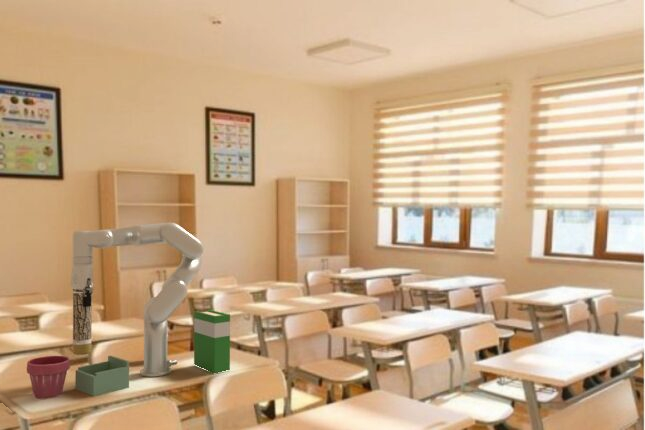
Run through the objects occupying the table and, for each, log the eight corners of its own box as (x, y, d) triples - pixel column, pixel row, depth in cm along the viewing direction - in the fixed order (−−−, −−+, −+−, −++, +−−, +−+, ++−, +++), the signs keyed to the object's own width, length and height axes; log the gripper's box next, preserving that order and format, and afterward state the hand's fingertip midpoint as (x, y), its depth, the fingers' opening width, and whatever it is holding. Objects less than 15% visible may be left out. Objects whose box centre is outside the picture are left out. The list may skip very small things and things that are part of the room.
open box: (110, 380, 215) (110, 355, 215) (129, 387, 206) (129, 361, 206) (75, 388, 204) (75, 362, 204) (93, 396, 195) (93, 368, 195)
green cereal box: (194, 365, 238) (194, 311, 238) (208, 363, 243) (209, 309, 243) (214, 373, 225) (214, 316, 225) (229, 370, 229) (230, 314, 230)
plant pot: (76, 394, 197) (76, 359, 197) (35, 403, 187) (36, 366, 187) (60, 386, 207) (60, 353, 207) (20, 395, 196) (20, 360, 197)
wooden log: (84, 355, 211) (84, 292, 212) (68, 354, 213) (69, 291, 213) (94, 351, 218) (95, 290, 218) (79, 351, 219) (80, 289, 220)
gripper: (63, 260, 219) (63, 304, 218) (84, 262, 208) (83, 308, 207) (81, 259, 225) (81, 302, 224) (102, 261, 213) (102, 306, 213)
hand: (82, 305), depth 216 cm, fingers closed on wooden log, 6 cm apart
